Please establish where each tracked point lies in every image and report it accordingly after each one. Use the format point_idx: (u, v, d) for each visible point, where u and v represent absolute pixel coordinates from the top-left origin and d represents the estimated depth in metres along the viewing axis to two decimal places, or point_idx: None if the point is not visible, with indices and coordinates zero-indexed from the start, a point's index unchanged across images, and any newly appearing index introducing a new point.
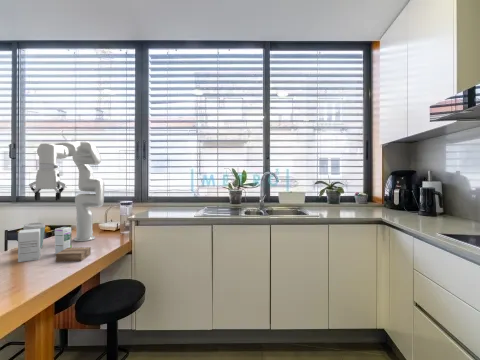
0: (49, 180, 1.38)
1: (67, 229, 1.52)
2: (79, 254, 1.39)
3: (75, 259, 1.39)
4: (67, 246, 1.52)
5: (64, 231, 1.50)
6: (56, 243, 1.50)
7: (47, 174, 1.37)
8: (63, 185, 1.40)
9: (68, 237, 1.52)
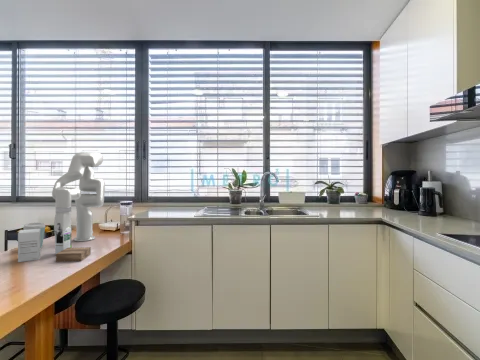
0: (69, 221, 1.54)
1: (67, 229, 1.52)
2: (79, 254, 1.39)
3: (75, 259, 1.39)
4: (67, 246, 1.52)
5: (64, 231, 1.50)
6: (56, 243, 1.50)
7: (69, 216, 1.54)
8: None
9: (68, 237, 1.52)
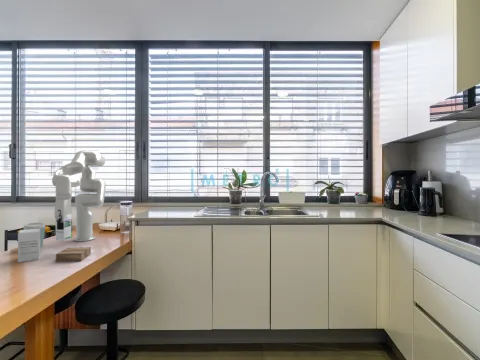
0: (69, 207, 1.55)
1: (67, 216, 1.52)
2: (79, 254, 1.39)
3: (75, 259, 1.39)
4: (68, 232, 1.52)
5: (64, 218, 1.50)
6: None
7: (69, 203, 1.54)
8: (71, 212, 1.60)
9: (68, 224, 1.53)
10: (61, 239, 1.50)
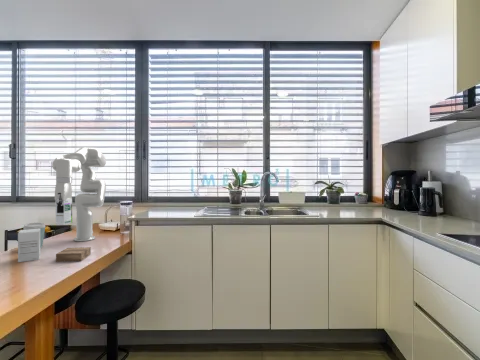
0: (69, 191, 1.54)
1: (68, 199, 1.51)
2: (79, 254, 1.39)
3: (75, 259, 1.39)
4: (68, 216, 1.51)
5: (64, 201, 1.49)
6: (57, 213, 1.49)
7: (69, 186, 1.53)
8: None
9: (68, 208, 1.51)
10: (61, 223, 1.49)
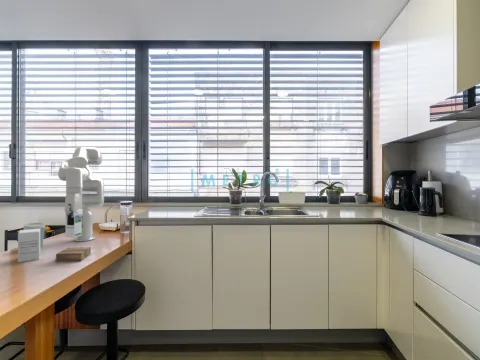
0: (80, 202, 1.46)
1: (78, 211, 1.43)
2: (79, 254, 1.39)
3: (75, 259, 1.39)
4: (78, 228, 1.43)
5: (75, 213, 1.41)
6: (67, 225, 1.41)
7: (80, 197, 1.45)
8: None
9: (79, 220, 1.43)
10: (71, 235, 1.41)
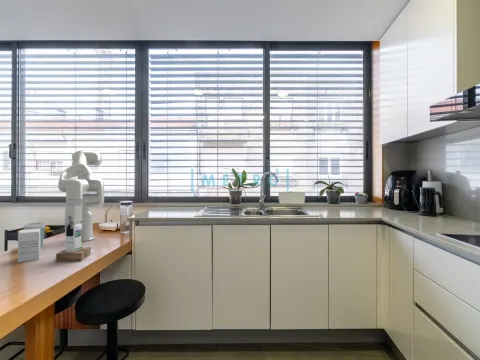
0: (80, 213, 1.46)
1: (78, 225, 1.43)
2: (79, 254, 1.39)
3: (75, 259, 1.39)
4: (78, 243, 1.43)
5: (75, 227, 1.41)
6: (66, 240, 1.41)
7: (80, 208, 1.45)
8: None
9: (79, 234, 1.44)
10: (71, 250, 1.41)
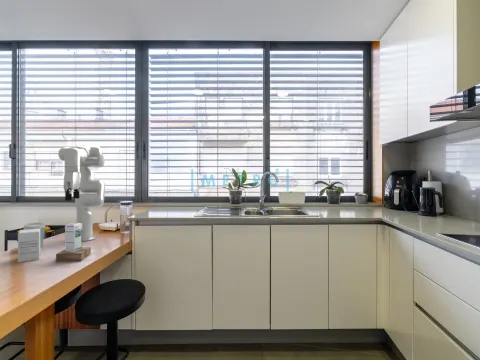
0: (78, 181, 1.56)
1: (78, 225, 1.43)
2: (79, 254, 1.39)
3: (75, 259, 1.39)
4: (78, 243, 1.43)
5: (75, 227, 1.41)
6: (66, 240, 1.41)
7: (77, 176, 1.55)
8: None
9: (79, 234, 1.44)
10: (71, 250, 1.41)
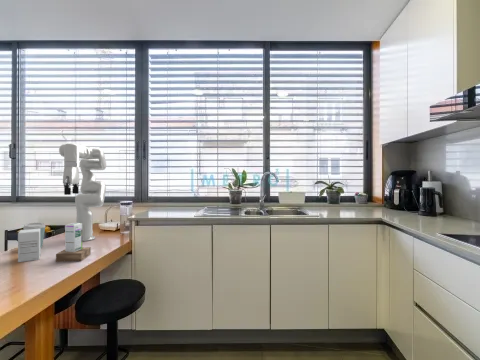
0: (77, 176, 1.59)
1: (78, 225, 1.43)
2: (79, 254, 1.39)
3: (75, 259, 1.39)
4: (78, 243, 1.43)
5: (75, 227, 1.41)
6: (66, 240, 1.41)
7: (77, 171, 1.58)
8: None
9: (79, 234, 1.44)
10: (71, 250, 1.41)
